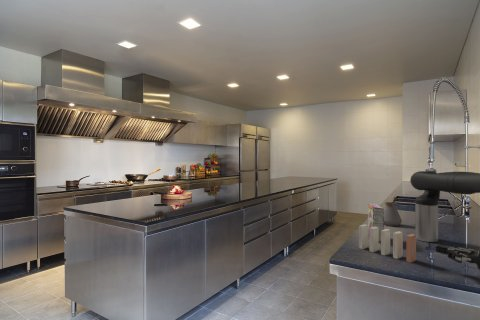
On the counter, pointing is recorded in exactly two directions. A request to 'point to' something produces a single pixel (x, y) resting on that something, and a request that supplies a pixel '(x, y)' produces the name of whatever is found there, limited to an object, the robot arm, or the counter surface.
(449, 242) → the counter surface
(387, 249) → the domino
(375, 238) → the domino
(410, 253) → the domino
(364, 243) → the domino
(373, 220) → the candy bar box
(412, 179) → the robot arm
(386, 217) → the coffee pot
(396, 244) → the domino
